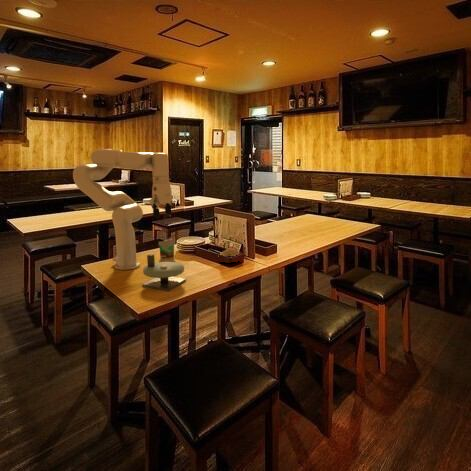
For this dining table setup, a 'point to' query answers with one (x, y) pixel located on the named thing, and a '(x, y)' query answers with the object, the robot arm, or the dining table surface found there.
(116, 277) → the dining table surface
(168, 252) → the food container
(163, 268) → the handwheel
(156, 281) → the wheel stand
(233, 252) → the decorative item
